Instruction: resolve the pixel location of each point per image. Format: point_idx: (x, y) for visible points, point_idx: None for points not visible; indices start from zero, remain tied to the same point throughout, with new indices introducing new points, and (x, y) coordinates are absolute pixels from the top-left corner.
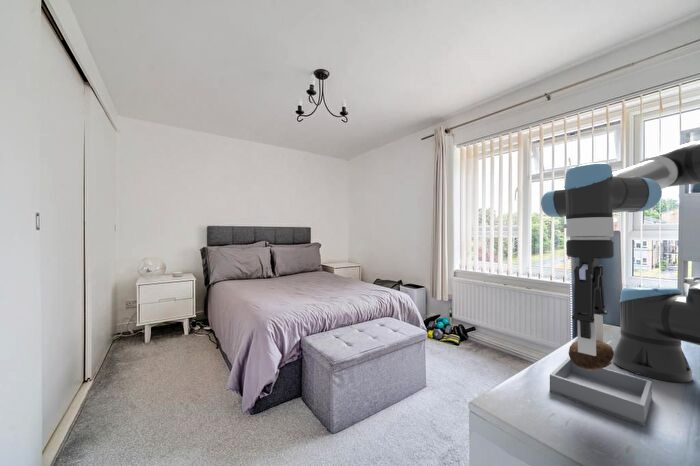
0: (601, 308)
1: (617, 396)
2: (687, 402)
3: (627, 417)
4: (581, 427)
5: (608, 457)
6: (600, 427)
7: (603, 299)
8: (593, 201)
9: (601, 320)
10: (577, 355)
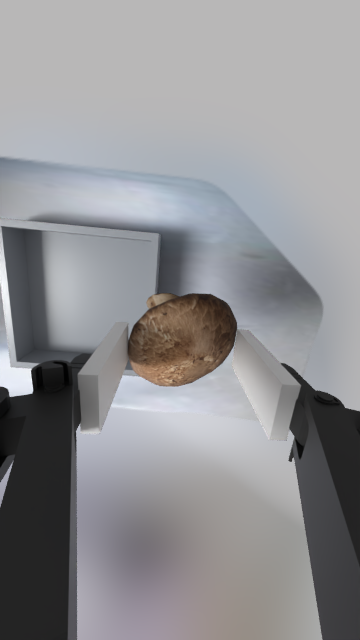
0: (72, 401)
1: (153, 273)
2: None
3: (159, 257)
4: (238, 309)
5: (294, 275)
6: (217, 288)
7: None
8: None
9: (105, 364)
10: (222, 362)
